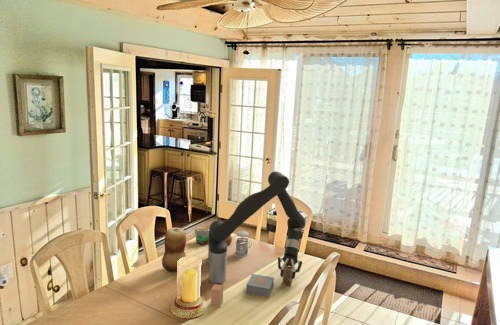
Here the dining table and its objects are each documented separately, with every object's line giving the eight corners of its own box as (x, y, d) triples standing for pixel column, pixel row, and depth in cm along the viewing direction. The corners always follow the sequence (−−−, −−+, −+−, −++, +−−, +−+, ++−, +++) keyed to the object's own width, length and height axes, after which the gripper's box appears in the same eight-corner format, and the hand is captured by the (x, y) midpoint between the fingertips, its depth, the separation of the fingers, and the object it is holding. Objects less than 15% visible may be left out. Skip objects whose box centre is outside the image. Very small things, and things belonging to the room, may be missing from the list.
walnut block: (282, 284, 194) (283, 269, 192) (283, 280, 198) (284, 265, 197) (290, 286, 193) (291, 270, 191) (291, 282, 197) (293, 267, 196)
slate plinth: (246, 293, 184) (246, 284, 183) (252, 282, 195) (252, 273, 194) (268, 297, 181) (269, 288, 180) (273, 286, 192) (273, 277, 191)
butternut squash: (178, 278, 196) (178, 235, 191) (157, 273, 200) (157, 231, 195) (190, 267, 208) (191, 227, 204) (171, 262, 213) (171, 223, 208)
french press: (240, 249, 236) (241, 213, 231) (254, 254, 229) (256, 217, 225) (231, 254, 228) (232, 217, 223) (245, 259, 222) (247, 221, 217)
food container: (191, 245, 239) (191, 231, 237) (194, 241, 245) (194, 227, 243) (209, 247, 237) (209, 232, 235) (211, 243, 243) (212, 229, 241)
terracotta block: (210, 305, 172) (211, 288, 170) (214, 300, 176) (214, 284, 174) (219, 307, 171) (220, 290, 169) (222, 302, 175) (223, 285, 173)
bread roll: (223, 247, 238) (223, 236, 237) (212, 239, 250) (212, 228, 248) (235, 244, 244) (235, 233, 242) (223, 236, 256) (224, 226, 254)
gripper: (279, 244, 201) (273, 273, 192) (304, 248, 197) (300, 278, 188) (280, 249, 207) (274, 277, 198) (304, 253, 203) (300, 282, 194)
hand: (287, 277), depth 193 cm, fingers open, 5 cm apart
